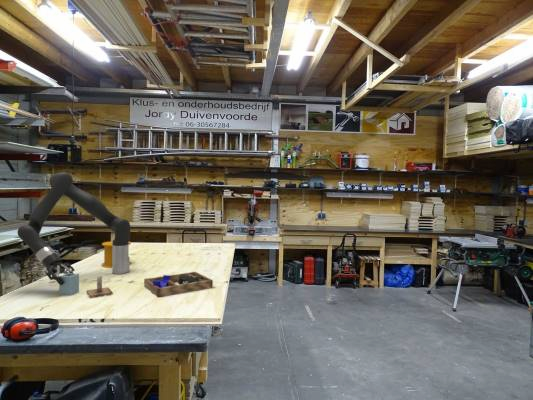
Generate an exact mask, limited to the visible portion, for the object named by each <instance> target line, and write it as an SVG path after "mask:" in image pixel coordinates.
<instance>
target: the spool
mask: <svg viewBox="0 0 533 400" xmlns="http://www.w3.org/2000/svg"><path fill="white" fill-rule="evenodd" d="M112 242H113V240H112V241H104V242H102V243H101V246H103V247H104V250H103V251H104V253H103V257H104V262H103V263H102V264H101V267H103V268H109V269H112ZM131 244H132V242H131V241H129V246H130V245H131ZM131 264H132V263H131V261H130V265H131Z"/></svg>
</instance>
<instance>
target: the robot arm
mask: <svg viewBox="0 0 533 400" xmlns="http://www.w3.org/2000/svg"><path fill="white" fill-rule="evenodd" d="M48 181H49V185H50V186H51V188H50V190H49V191H48V192H47V194H46V195H45V196H44V197H43V198H42V200H40V202H39V203H38V204H37V205H36V206H35V208H34V209H33V210H32V212H31V214H30V215H29V217H28V220H29V222H28V224H25V225H21V226H20V227H19V228H18V229H17V233H16V234H17V236H18V237H19V239H20V240H22V242H24V243H25V244H26V246H28V247H29V249H30V250H31V251H32V252H33V254H34V255H35V257H36V258H37V260H38V261H40V263H41V264H42V266H44V268H45V270H44V271H43V272H44V274H45V275H46V276H47V277H48V279H49V280H50V281H53V280H54V281H56V283H58V285H59V284H60V285H63V284H64V283H65V282H64V281H63V280H62V278H61V277H59V276H60V274H62V275H65V274H67V273H72V274H75V273H74V272H75V270H76V269H75V268H74V267H73V266H72V265H71V264H70V263H69V262H68V261H66V262H65V263H63V262H62V258H61V257H60V256H59V255H58V253H56V251H55V250H54V249H53V248H52V247H51V246H50V245H49V244H48V243H47V242H46V241H45V240H44V239H43V238H42V237H41V236H40V233H41V232H42V229H43V226H44V223H45V221H46V220H47V218H48V217H49V215H50V214H51V213H52V210H53V209H54V207H55V206H56V205H57V203H58V202H59V201H60V199H61V198H62V197H63V196H66V197H67V198H69V200H71V201H72V202H74V204H76V205H78V206H79V207H80V208H82V209H83V210H84V211H85V212H87V214H90V215H91V216H93V217H94V218H96V219H97V220H99V221H101V222H102V223H103V224H104V225H106V226H107V227H108V228H109V229H110V230H111V231H112V232H113V233H114V239H113V240H112V241H113V242H112V268H111V271H112V274H115V275H123V274H127V273H130V266H131V264H130V262H131V261H130V260H131V259H130V256H129V254H130V253H129V246H130V245H129V242H130V239H131V224H130V221H129V220H127V219H125V218H121V217H118V216H116V215H115V214H114V213H112V212H111V211H110V210H109V209H108V208H107V207H106V205H105V204H104V203H103V202H102V201H101V200H100V199H98V198H97V197H96V196H95V195H93V194H91V193H89V192H87V191H85V190H83V189H81V188H79V187H77V186H76V185H74V184H73V182H74V180H73V177H72V175H71V174H70V173H67V172H65V171H64V172H63V171H62V172H57V173H55V174H52V175H51V176H50V177H49V180H48Z"/></svg>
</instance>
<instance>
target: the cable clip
mask: <svg viewBox="0 0 533 400" xmlns="http://www.w3.org/2000/svg"><path fill="white" fill-rule="evenodd" d="M162 276H163V281H153V285H155V286H158V287H159V288H162V287H168V280H170V274H169V275H166V274H164V275H162Z"/></svg>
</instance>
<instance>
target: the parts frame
mask: <svg viewBox="0 0 533 400" xmlns="http://www.w3.org/2000/svg"><path fill="white" fill-rule="evenodd" d="M169 275H170V274H169ZM189 275H193V276H194V277H196V276H200V277H201V276H202V277H203V279H199V282H186V283H184V284H181V285H178V280H179V277H180V276H187V277H188V276H189ZM163 276H164V275H162V276H156V277H149V278H144V280H143V282H144V284H143V285H144V288H146V289H147V290H148V291H150V292H151V293H152V294H153V295H155V296H156V297H157V298H160V297H161V298H162V297H167V296H172V295H177V294H184V293H190V292H195V291H200V289H201V290H206V289H212V288H213V282H214V281H213V279H211V278H209V277H207V276H205V275H203V274H201V273H199V272H198V271H191V272H183V273H177V274H171V275H170V280H168V287H162V288H159V287H158V286H155V285H153V281H163ZM176 283H177V284H176ZM194 290H195V291H194ZM189 291H190V292H189Z"/></svg>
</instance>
